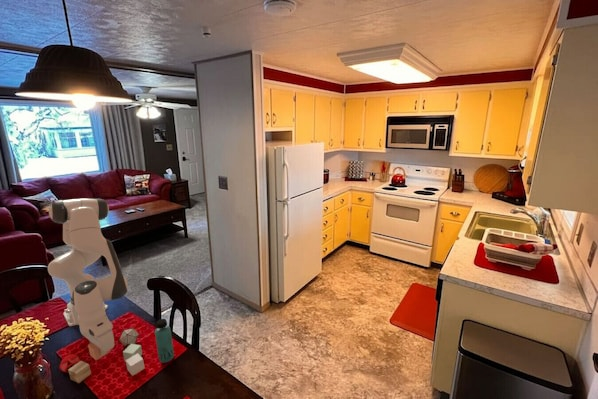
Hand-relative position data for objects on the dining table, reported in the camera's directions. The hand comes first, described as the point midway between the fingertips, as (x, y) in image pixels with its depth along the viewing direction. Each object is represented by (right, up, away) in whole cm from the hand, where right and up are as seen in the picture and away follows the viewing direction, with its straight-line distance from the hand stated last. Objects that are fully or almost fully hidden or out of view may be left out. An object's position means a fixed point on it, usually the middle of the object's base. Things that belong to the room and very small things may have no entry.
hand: (99, 350), depth 119 cm
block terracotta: (0, -2, 0) cm, 2 cm away
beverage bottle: (+23, -10, +11) cm, 27 cm away
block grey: (+12, -11, +6) cm, 17 cm away
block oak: (-9, -12, +3) cm, 16 cm away
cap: (-17, -11, +7) cm, 22 cm away
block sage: (+7, -10, +12) cm, 17 cm away
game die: (+1, -8, +20) cm, 21 cm away
